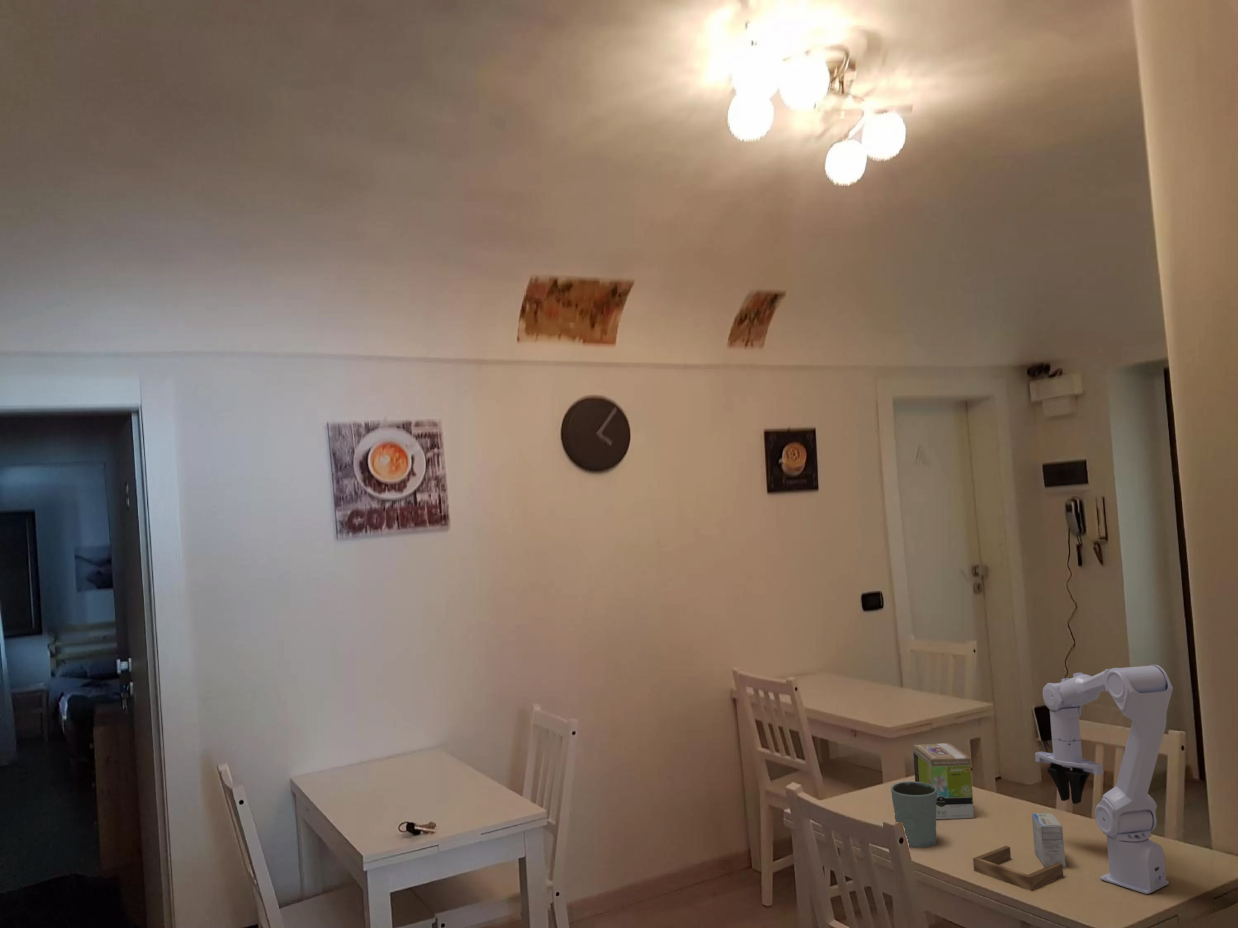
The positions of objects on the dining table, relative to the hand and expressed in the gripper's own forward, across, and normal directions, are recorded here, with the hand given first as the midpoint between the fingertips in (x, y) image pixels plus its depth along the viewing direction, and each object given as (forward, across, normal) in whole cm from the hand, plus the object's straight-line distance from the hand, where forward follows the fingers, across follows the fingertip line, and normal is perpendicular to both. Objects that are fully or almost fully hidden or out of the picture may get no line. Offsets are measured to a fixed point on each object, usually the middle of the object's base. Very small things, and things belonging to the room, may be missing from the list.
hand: (1071, 801), depth 201 cm
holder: (+10, 0, +20) cm, 22 cm away
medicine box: (+11, 0, +9) cm, 14 cm away
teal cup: (+11, +25, +21) cm, 34 cm away
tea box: (+11, +35, -1) cm, 37 cm away
